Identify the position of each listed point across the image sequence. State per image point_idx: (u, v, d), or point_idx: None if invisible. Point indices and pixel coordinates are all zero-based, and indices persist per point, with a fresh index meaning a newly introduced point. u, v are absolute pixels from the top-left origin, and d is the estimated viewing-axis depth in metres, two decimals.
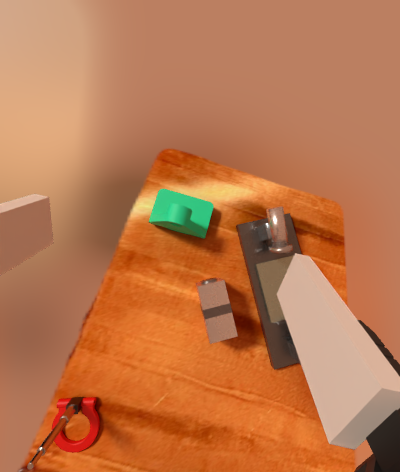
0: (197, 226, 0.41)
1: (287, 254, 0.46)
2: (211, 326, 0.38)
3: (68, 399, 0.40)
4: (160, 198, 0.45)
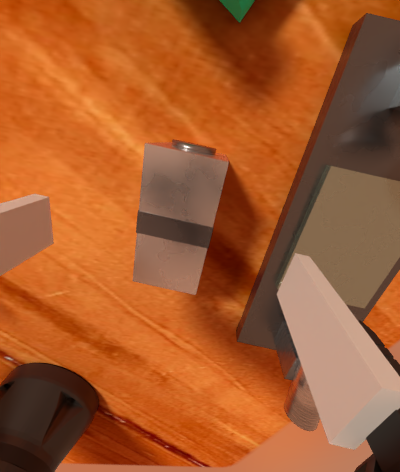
0: None
1: None
2: (147, 252, 0.15)
3: None
4: None
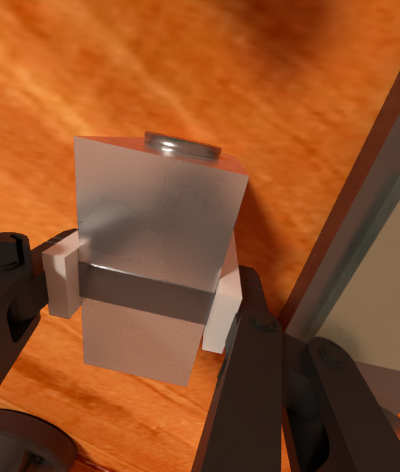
0: None
1: None
2: (102, 326, 0.09)
3: None
4: None
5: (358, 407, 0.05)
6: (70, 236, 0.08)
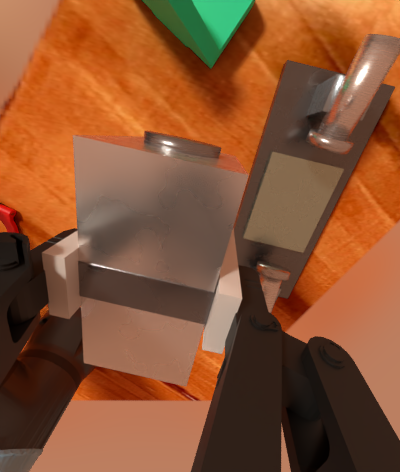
0: (198, 20, 0.19)
1: (330, 161, 0.27)
2: (102, 325, 0.09)
3: None
4: None
5: (358, 407, 0.05)
6: (70, 236, 0.08)
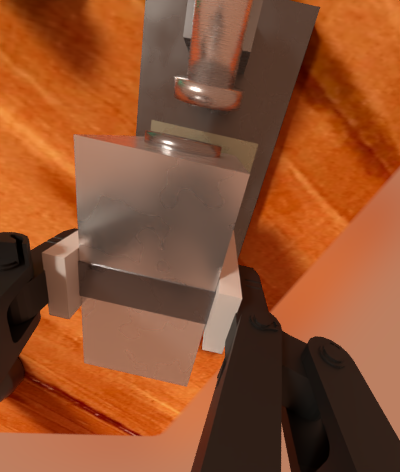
0: None
1: (241, 134, 0.18)
2: (102, 325, 0.09)
3: None
4: None
5: (357, 406, 0.05)
6: (70, 236, 0.08)
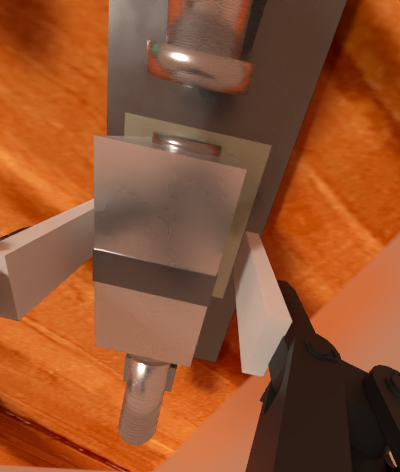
0: None
1: (247, 132, 0.13)
2: (113, 309, 0.10)
3: None
4: None
5: None
6: (20, 233, 0.08)
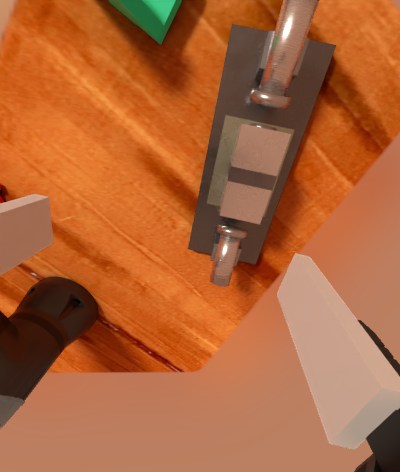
0: None
1: (282, 123, 0.28)
2: (232, 194, 0.25)
3: None
4: None
5: None
6: None
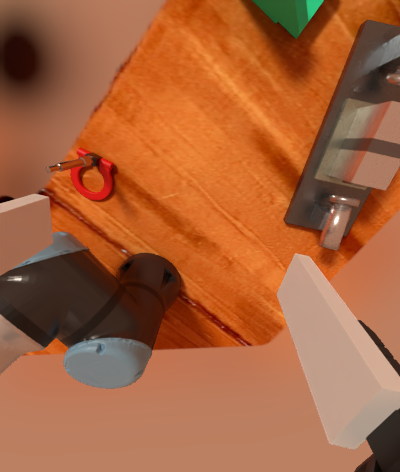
0: None
1: None
2: (367, 163, 0.29)
3: (88, 152, 0.40)
4: None
5: None
6: None
